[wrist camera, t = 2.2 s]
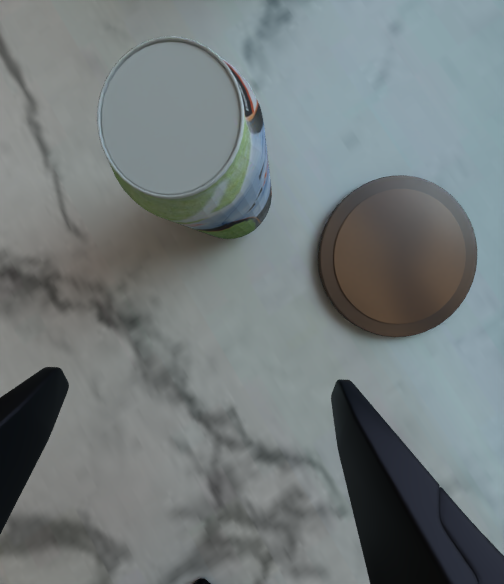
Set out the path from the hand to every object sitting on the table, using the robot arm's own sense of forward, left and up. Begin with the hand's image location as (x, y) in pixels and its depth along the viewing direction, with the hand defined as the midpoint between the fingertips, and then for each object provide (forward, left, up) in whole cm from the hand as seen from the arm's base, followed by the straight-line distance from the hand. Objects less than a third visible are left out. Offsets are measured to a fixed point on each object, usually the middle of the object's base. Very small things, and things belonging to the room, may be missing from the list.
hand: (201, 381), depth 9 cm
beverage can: (+6, +7, -12) cm, 15 cm away
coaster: (+13, -5, -12) cm, 18 cm away
